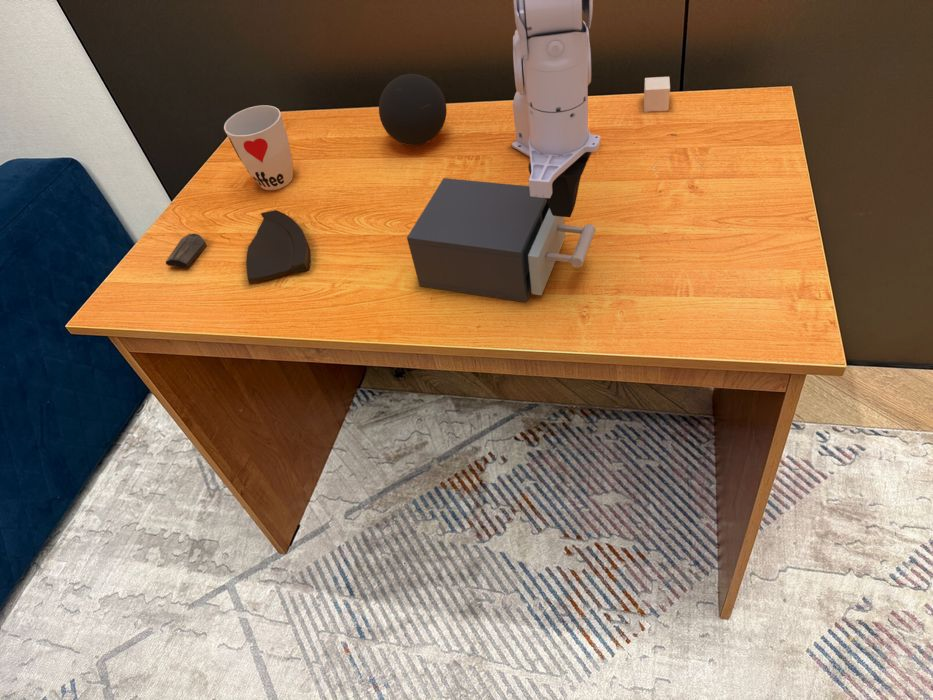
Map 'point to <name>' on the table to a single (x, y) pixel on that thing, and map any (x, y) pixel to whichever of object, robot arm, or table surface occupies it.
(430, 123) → the black ball
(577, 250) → the drawer
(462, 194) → the cabinet
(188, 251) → the block
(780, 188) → the table surface
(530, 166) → the robot arm
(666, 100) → the beige cube
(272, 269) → the dark sector wedge
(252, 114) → the cup
